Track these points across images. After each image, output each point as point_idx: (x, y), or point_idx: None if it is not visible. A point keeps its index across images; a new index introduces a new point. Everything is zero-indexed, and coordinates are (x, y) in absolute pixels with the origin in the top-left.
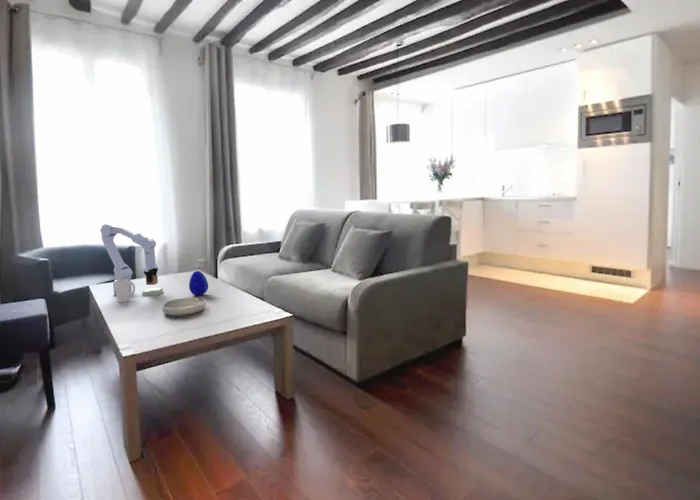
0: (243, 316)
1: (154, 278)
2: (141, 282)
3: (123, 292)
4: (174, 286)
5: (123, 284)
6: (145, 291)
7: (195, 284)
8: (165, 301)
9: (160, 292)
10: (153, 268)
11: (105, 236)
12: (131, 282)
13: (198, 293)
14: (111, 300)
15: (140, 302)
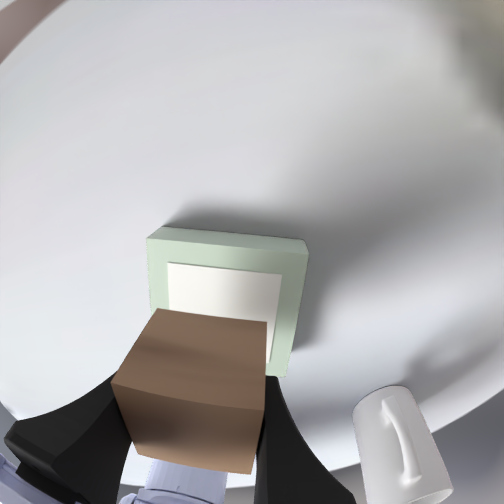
0: None
1: (257, 383)
2: (5, 376)
3: (431, 435)
4: (16, 188)
5: (447, 474)
6: (279, 358)
7: None
8: (498, 141)
9: (224, 235)
10: (75, 499)
11: None
12: (421, 472)
13: None
14: (342, 446)
15: (466, 307)
